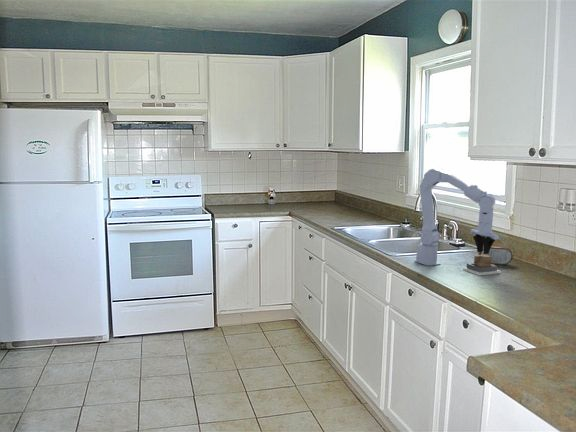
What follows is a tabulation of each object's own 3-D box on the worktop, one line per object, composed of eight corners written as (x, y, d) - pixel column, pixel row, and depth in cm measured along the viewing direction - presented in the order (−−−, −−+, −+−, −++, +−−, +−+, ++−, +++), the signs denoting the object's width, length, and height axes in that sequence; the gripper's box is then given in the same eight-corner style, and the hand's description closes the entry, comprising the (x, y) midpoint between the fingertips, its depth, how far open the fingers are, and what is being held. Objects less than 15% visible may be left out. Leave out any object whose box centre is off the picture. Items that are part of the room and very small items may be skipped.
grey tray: (462, 269, 240) (463, 263, 239) (483, 267, 245) (483, 261, 244) (479, 275, 231) (479, 268, 230) (500, 273, 236) (500, 266, 235)
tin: (511, 264, 253) (512, 246, 252) (512, 265, 250) (514, 248, 249) (477, 262, 256) (479, 244, 254) (478, 263, 253) (480, 246, 251)
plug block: (473, 268, 238) (474, 255, 237) (483, 267, 241) (484, 254, 240) (480, 270, 235) (481, 257, 234) (490, 269, 237) (491, 256, 236)
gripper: (505, 224, 230) (502, 255, 232) (480, 219, 243) (477, 248, 245) (492, 225, 227) (490, 256, 229) (468, 220, 240) (465, 249, 242)
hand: (482, 252), depth 237 cm, fingers open, 3 cm apart
